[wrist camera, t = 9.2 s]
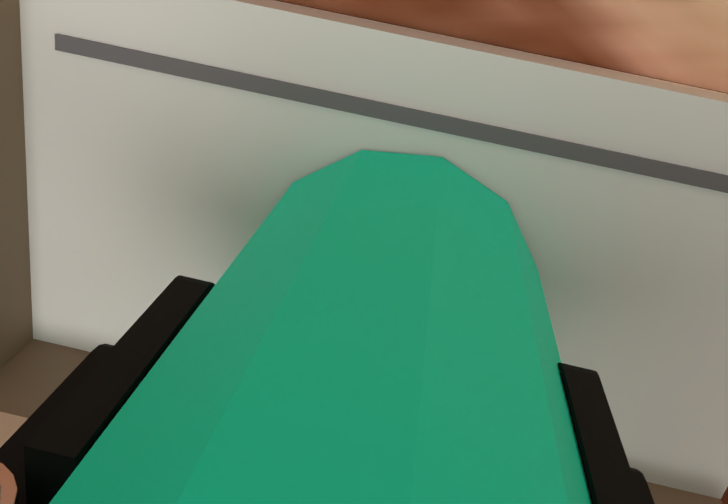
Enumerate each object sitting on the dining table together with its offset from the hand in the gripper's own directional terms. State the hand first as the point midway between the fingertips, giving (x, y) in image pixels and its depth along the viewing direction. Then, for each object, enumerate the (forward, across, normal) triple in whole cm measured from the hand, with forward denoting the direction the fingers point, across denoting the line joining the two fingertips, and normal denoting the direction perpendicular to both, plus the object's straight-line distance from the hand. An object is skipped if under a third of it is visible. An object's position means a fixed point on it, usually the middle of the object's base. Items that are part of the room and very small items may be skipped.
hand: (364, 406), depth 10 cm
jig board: (+6, +1, 0) cm, 6 cm away
